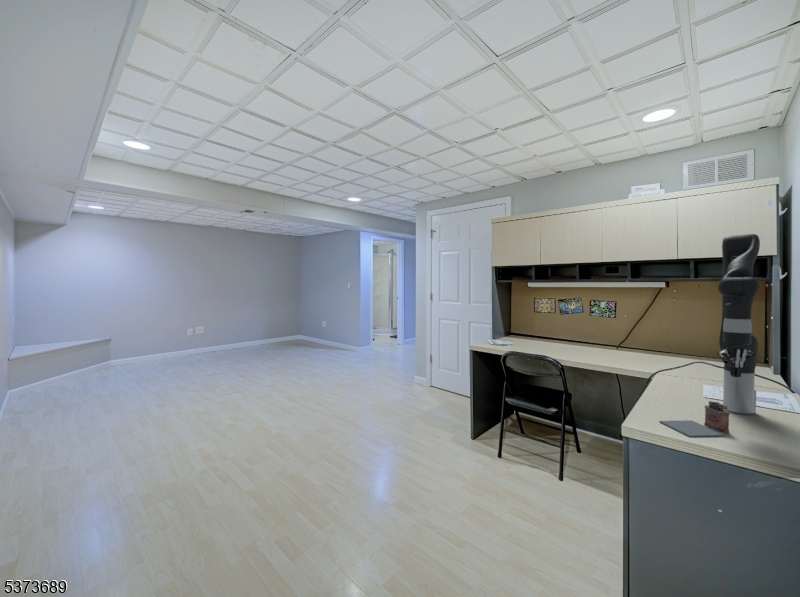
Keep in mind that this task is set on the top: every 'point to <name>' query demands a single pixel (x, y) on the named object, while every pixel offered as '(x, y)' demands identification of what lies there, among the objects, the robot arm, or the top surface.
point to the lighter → (717, 417)
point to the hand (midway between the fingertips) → (735, 376)
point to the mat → (692, 429)
